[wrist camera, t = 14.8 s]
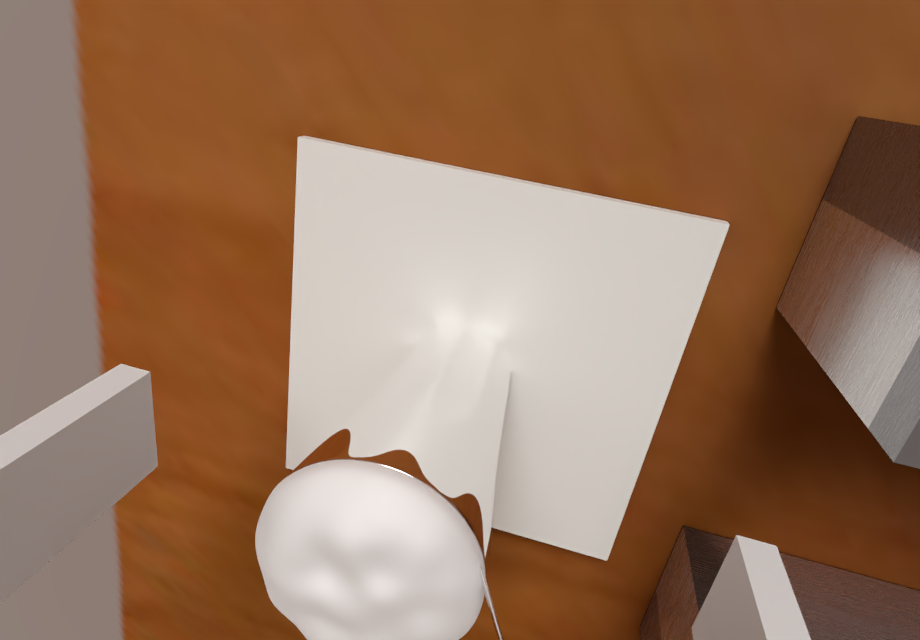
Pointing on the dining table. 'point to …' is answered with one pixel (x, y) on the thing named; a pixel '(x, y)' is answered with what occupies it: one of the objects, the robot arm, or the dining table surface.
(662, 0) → the dining table surface
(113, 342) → the dining table surface
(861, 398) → the brackets
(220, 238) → the dining table surface
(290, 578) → the milkshake
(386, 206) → the pad
